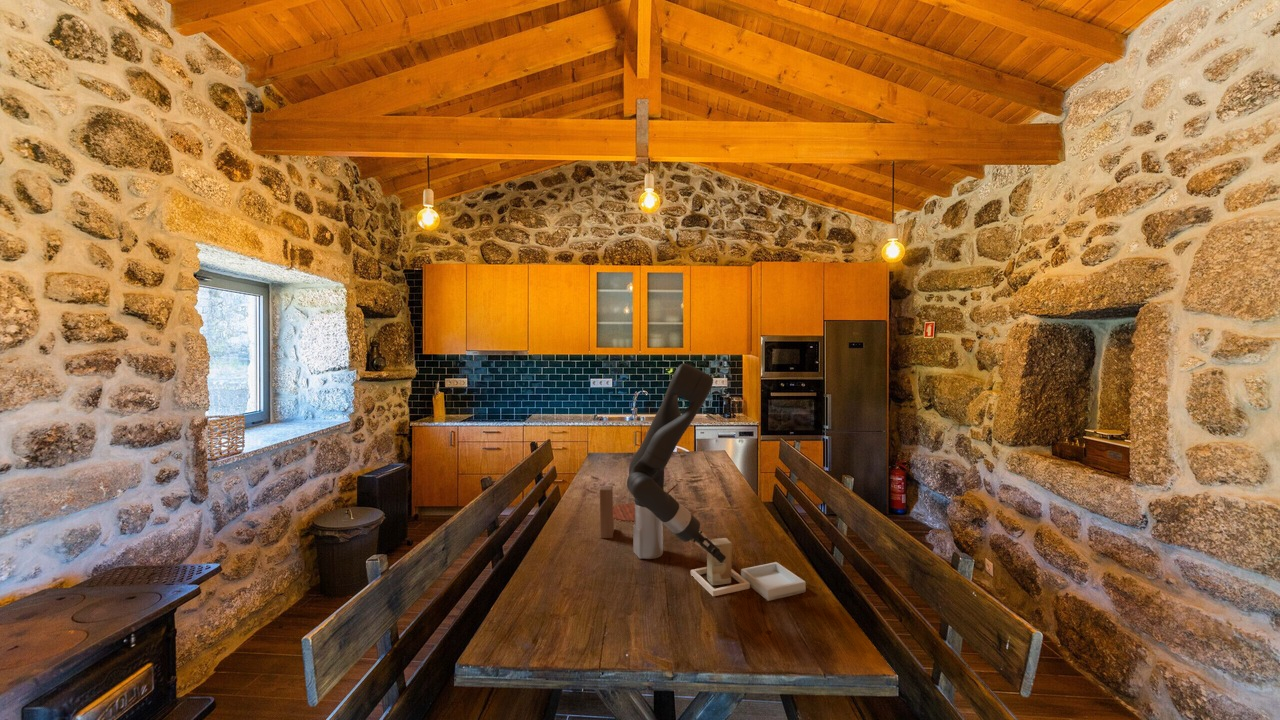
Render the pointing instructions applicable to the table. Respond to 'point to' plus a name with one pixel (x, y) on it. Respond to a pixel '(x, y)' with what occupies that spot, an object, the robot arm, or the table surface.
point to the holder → (722, 590)
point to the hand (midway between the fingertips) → (716, 554)
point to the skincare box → (715, 569)
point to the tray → (773, 581)
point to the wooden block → (606, 512)
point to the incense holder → (627, 511)
